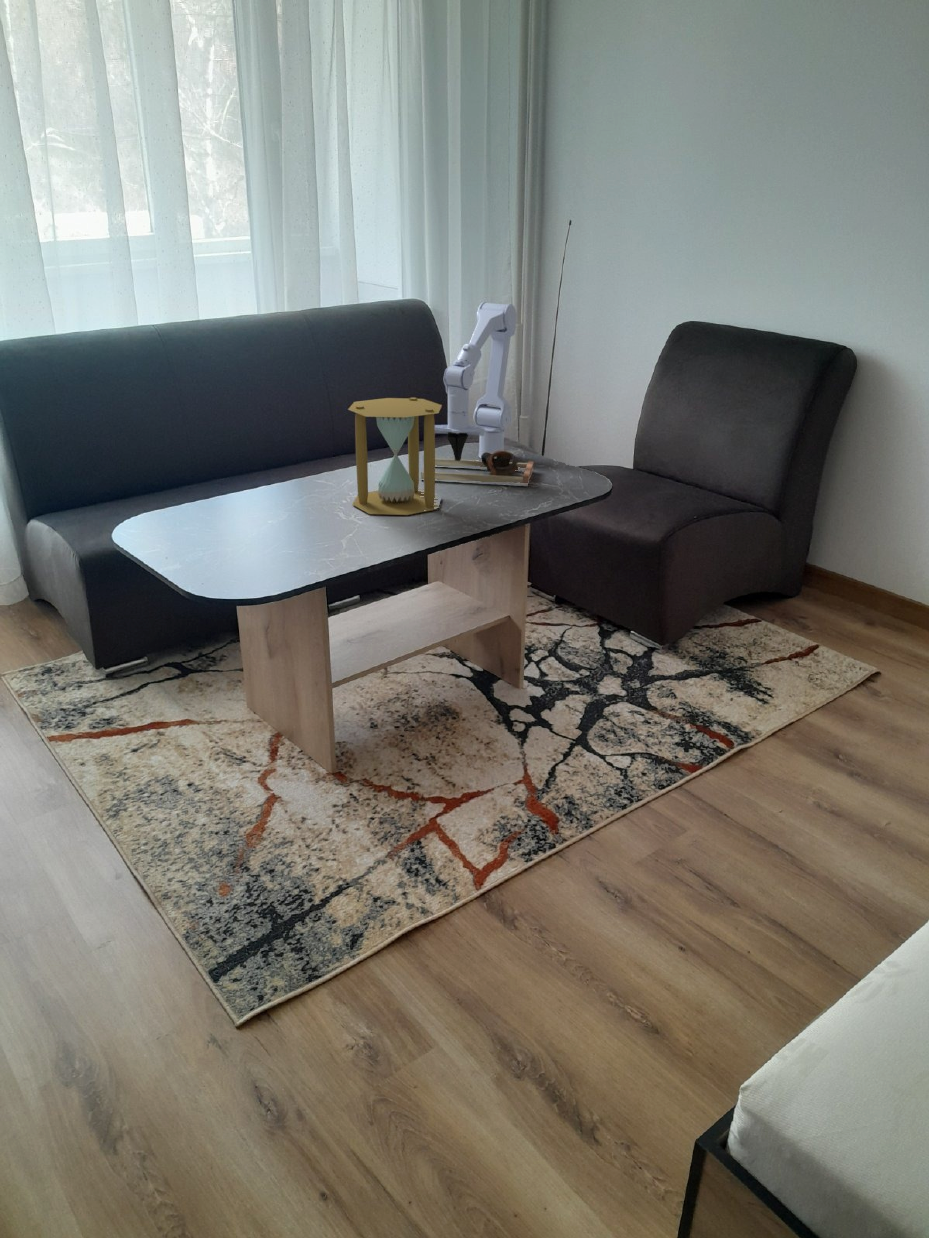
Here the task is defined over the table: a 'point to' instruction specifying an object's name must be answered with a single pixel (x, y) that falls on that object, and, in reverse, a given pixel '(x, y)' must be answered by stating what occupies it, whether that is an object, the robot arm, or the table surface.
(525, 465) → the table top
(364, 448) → the hourglass
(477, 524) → the table surface
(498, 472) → the pottery mug
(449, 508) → the table surface
